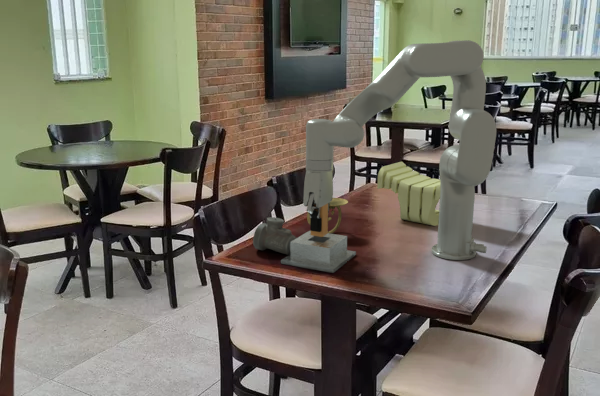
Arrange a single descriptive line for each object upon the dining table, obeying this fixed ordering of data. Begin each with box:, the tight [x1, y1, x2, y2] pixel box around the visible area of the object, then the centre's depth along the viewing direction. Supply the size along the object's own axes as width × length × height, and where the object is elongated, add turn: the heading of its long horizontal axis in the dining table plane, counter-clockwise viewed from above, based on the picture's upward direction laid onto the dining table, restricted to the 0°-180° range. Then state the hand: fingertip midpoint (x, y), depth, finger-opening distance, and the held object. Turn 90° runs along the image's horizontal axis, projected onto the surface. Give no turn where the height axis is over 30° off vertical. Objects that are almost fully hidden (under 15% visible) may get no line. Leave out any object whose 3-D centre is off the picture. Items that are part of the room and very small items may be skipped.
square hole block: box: [280, 230, 357, 274], centre depth 165 cm, size 16×16×6 cm
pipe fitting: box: [252, 216, 297, 256], centre depth 170 cm, size 12×8×10 cm
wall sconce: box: [306, 170, 349, 234], centre depth 184 cm, size 14×10×25 cm
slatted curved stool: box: [377, 161, 440, 227], centre depth 202 cm, size 30×16×18 cm, turn 49°
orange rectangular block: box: [310, 203, 329, 237], centre depth 162 cm, size 4×4×10 cm
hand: (319, 228), depth 163 cm, fingers closed on orange rectangular block, 3 cm apart
